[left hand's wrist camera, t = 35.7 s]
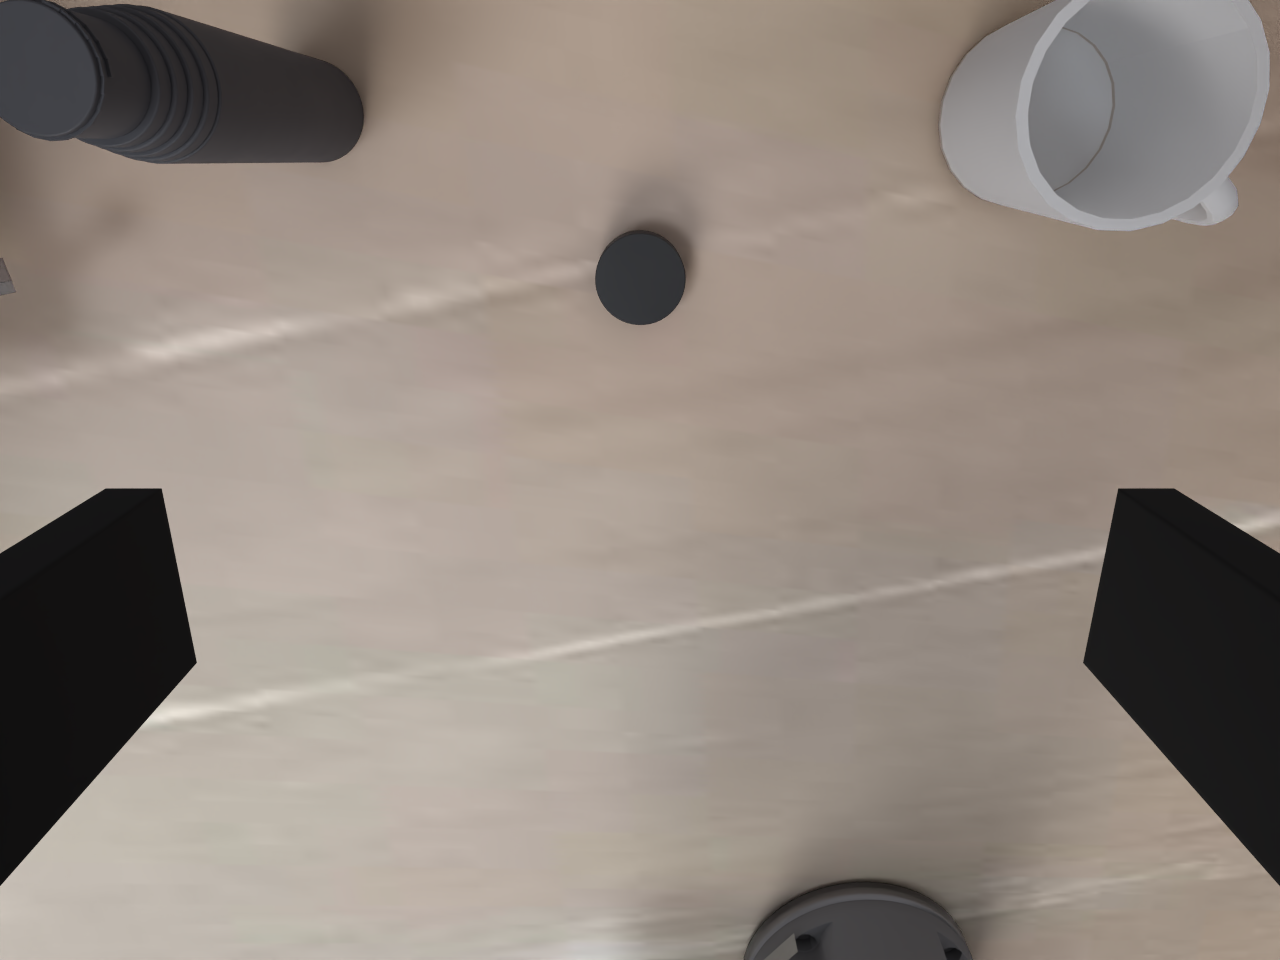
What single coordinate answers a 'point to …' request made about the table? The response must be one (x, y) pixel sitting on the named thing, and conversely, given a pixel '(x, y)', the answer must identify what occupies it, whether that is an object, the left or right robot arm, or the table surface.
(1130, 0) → the mug
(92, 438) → the table surface
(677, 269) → the cap
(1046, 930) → the table surface
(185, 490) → the table surface
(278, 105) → the bottle
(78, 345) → the table surface
